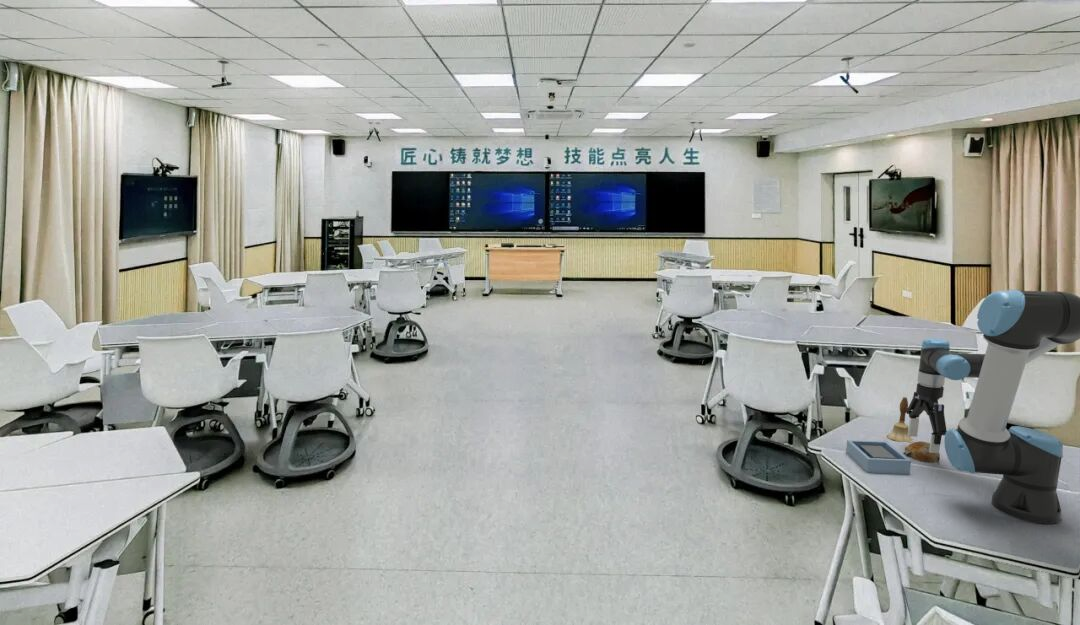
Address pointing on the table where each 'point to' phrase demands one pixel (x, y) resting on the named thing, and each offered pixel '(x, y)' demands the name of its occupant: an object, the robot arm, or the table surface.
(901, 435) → the hand bell
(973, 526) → the table surface
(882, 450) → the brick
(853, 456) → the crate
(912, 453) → the bread roll
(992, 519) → the table surface
